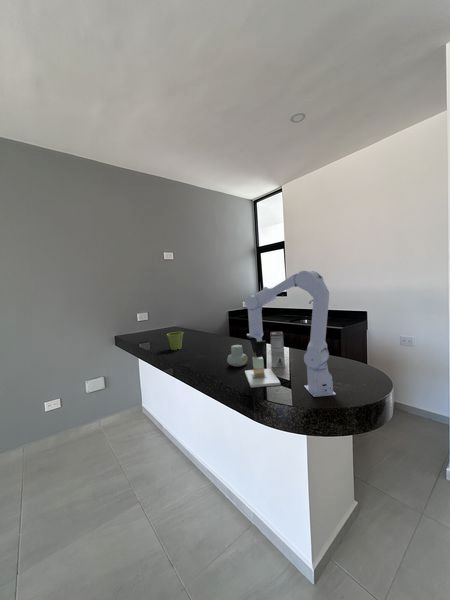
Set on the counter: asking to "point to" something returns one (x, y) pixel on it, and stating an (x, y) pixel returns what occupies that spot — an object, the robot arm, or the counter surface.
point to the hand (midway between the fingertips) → (257, 354)
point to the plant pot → (175, 340)
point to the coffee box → (277, 349)
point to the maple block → (259, 372)
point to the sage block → (258, 362)
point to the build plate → (262, 379)
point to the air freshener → (237, 356)
